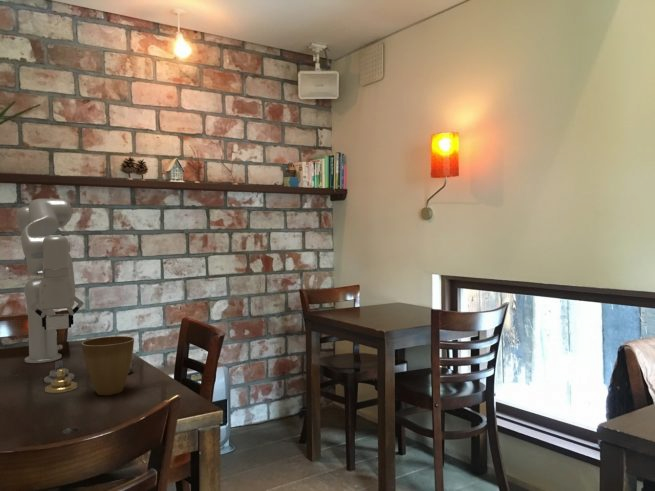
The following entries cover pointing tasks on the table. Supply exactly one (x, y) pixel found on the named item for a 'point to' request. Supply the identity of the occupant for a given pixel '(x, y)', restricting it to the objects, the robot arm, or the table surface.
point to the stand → (54, 372)
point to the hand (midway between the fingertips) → (58, 327)
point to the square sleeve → (57, 321)
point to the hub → (61, 383)
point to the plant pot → (108, 362)
